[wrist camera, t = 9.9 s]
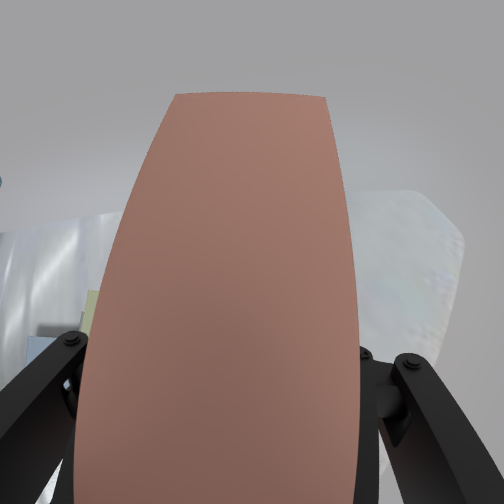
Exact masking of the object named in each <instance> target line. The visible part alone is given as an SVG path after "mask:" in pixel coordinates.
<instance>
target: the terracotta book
mask: <svg viewBox="0 0 504 504" xmlns="http://www.w3.org/2000/svg"><path fill="white" fill-rule="evenodd" d="M359 419H360V347H359V323H358V306H357V293H356V281H355V270H354V260H353V251H352V242H351V234H350V227H349V219H348V212H347V205H346V199H345V193H344V187H343V181H342V175H341V170H340V164H339V159H338V154H337V148H336V144H335V139H334V134H333V129H332V125H331V120H330V116H329V112H328V108H327V103H326V99H325V97H318V96H308V95H295V94H281V93H280V94H279V93H259V92H256V93H255V92H213V93H212V92H211V93H188V94H176V95H175V97H174V99H173V101H172V103H171V104H170V106H169V108H168V110H167V112H166V115H165V116H164V119H163V121H162V123H161V125H160V127H159V129H158V131H157V133H156V135H155V138H154V140H153V142H152V144H151V146H150V148H149V151H148V153H147V155H146V158H145V160H144V162H143V165H142V167H141V170H140V172H139V174H138V177H137V179H136V182H135V184H134V187H133V189H132V192H131V195H130V197H129V200H128V202H127V205H126V208H125V211H124V213H123V216H122V219H121V222H120V225H119V228H118V231H117V234H116V237H115V240H114V243H113V246H112V249H111V253H110V256H109V259H108V262H107V266H106V269H105V273H104V276H103V280H102V284H101V287H100V291H99V295H98V299H97V303H96V307H95V311H94V316H93V320H92V325H91V329H90V334H89V339H88V344H87V349H86V355H85V360H84V366H83V372H82V379H81V386H80V393H79V401H78V410H77V420H76V432H75V447H74V504H353V498H354V489H355V479H356V469H357V456H358V441H359Z"/></svg>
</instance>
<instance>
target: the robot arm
mask: <svg viewBox="0 0 504 504" xmlns="http://www.w3.org/2000/svg"><path fill="white" fill-rule="evenodd" d="M1 183H2V180H1V177H0V186H1ZM88 339H89V338H88V336H87V334H86V333H83V332H81V331H69V332H67V333H64V334H62V335H61V336H59V337H58V338H57V339H56V340H54V341H53V342H52V343H51V344H50V345H49V346H48V347H47V348H46V349H45V350H43V351H42V352H41V353H40V354H39V355H38V356H37V357H36V358H35V359H34V360H33V361H32V362H30V363H29V364H28V365H27V366H26V367H25V368H24V369H23V370H22V371H21V372H20V373H19V374H18V375H17V376H16V377H15V378H14V379H13V380H12V381H11V382H10V383H9V384H8V385H7V386H6V387H5V388H3V389H2V390H1V391H0V504H35V503H36V501H37V500H38V498H39V496H40V494H41V493H42V491H43V489H44V488H45V486H46V485H47V483H48V481H49V480H50V478H51V476H52V475H53V473H54V472H55V470H56V468H57V467H58V465H59V464H60V462H61V460H62V459H63V461H62V464H61V468H60V471H59V475H58V478H57V482H56V486H55V490H54V494H53V498H52V500H51V502H50V503H49V504H74V447H75V432H76V420H77V410H78V401H79V393H80V386H81V379H82V372H83V366H84V360H85V355H86V349H87V344H88ZM359 347H360V419H359V441H358V456H357V469H356V479H355V489H354V498H353V504H378V499H379V431H380V434H381V437H382V440H383V443H384V445H385V448H386V451H387V454H388V457H389V460H390V463H391V466H392V469H393V471H394V475H395V477H396V480H397V484H398V487H399V490H400V493H401V496H402V499H403V503H404V504H504V479H503V477H502V475H501V473H500V472H499V470H498V468H497V466H496V465H495V463H494V461H493V459H492V458H491V456H490V455H489V453H488V451H487V449H486V448H485V446H484V444H483V443H482V441H481V439H480V438H479V436H478V435H477V433H476V431H475V430H474V428H473V427H472V425H471V424H470V422H469V421H468V419H467V417H466V416H465V414H464V413H463V411H462V410H461V408H460V407H459V405H458V404H457V402H456V401H455V399H454V398H453V396H452V395H451V393H450V392H449V391H448V389H447V388H446V386H445V385H444V383H443V382H442V381H441V379H440V378H439V376H438V375H437V373H436V372H435V371H434V369H433V368H432V366H431V365H430V364H429V362H428V361H427V360H426V359H425V358H423V357H421V356H419V355H417V354H414V353H403V354H400V355H398V356H397V357H396V359H395V361H394V364H392V363H385V362H380V361H375V360H373V356H372V354H371V352H370V351H369V350H367V349H366V348H364V347H361V346H359ZM67 379H68V382H69V387H68V388H67V389H65V387H64V383H65V382H66V381H67ZM378 429H379V431H378Z"/></svg>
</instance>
